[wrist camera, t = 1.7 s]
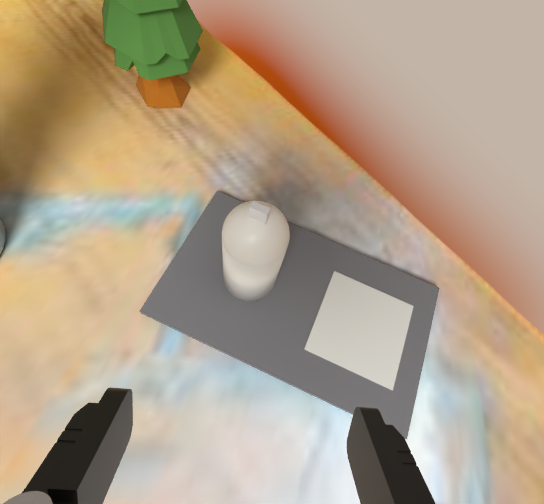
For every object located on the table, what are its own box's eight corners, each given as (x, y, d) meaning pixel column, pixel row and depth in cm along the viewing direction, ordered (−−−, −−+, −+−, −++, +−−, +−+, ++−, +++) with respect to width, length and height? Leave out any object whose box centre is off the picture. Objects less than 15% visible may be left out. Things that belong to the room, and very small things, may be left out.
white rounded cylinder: (214, 287, 30) (206, 222, 20) (237, 244, 33) (241, 165, 22) (262, 310, 30) (280, 255, 20) (283, 265, 32) (309, 194, 22)
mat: (141, 313, 29) (139, 310, 29) (217, 194, 35) (217, 190, 35) (403, 438, 27) (407, 439, 27) (435, 289, 34) (439, 287, 33)
